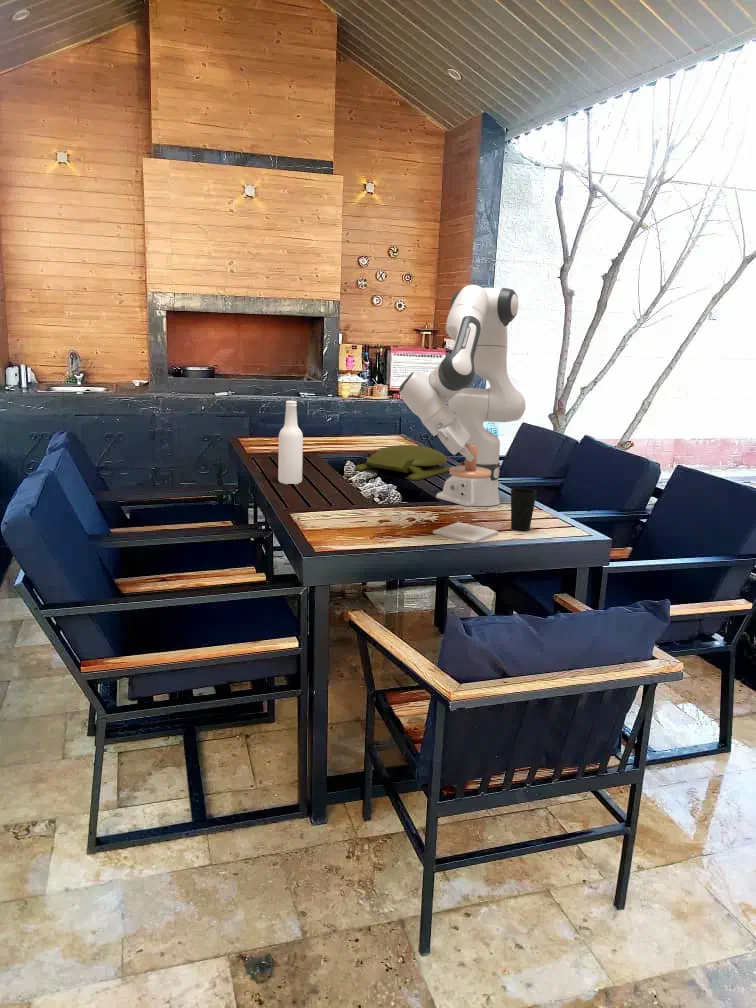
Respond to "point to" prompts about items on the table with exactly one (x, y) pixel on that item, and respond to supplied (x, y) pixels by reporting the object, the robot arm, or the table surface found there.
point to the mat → (465, 532)
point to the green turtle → (407, 461)
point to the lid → (470, 467)
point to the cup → (522, 508)
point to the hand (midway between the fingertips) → (473, 458)
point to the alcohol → (290, 448)
